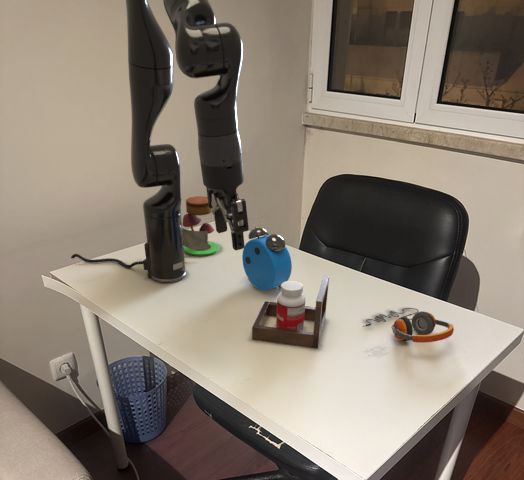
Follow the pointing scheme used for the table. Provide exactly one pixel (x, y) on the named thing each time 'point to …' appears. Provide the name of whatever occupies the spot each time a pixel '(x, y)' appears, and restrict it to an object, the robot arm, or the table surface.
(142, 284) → the table surface
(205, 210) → the multicoloured stacked figure
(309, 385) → the table surface
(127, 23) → the robot arm
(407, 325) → the headphones
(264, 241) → the alarm clock
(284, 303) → the pill bottle
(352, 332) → the table surface
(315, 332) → the wooden frame
